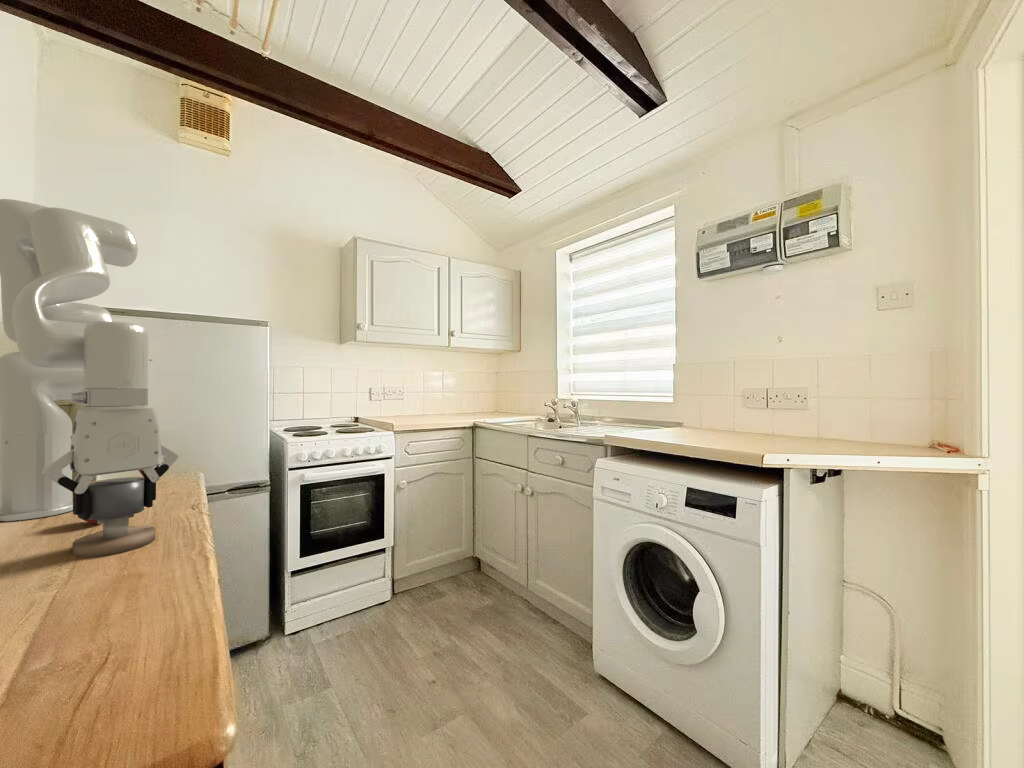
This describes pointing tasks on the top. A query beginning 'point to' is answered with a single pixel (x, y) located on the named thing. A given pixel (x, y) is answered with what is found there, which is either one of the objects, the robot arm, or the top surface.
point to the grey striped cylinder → (116, 497)
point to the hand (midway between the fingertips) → (116, 511)
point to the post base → (114, 538)
